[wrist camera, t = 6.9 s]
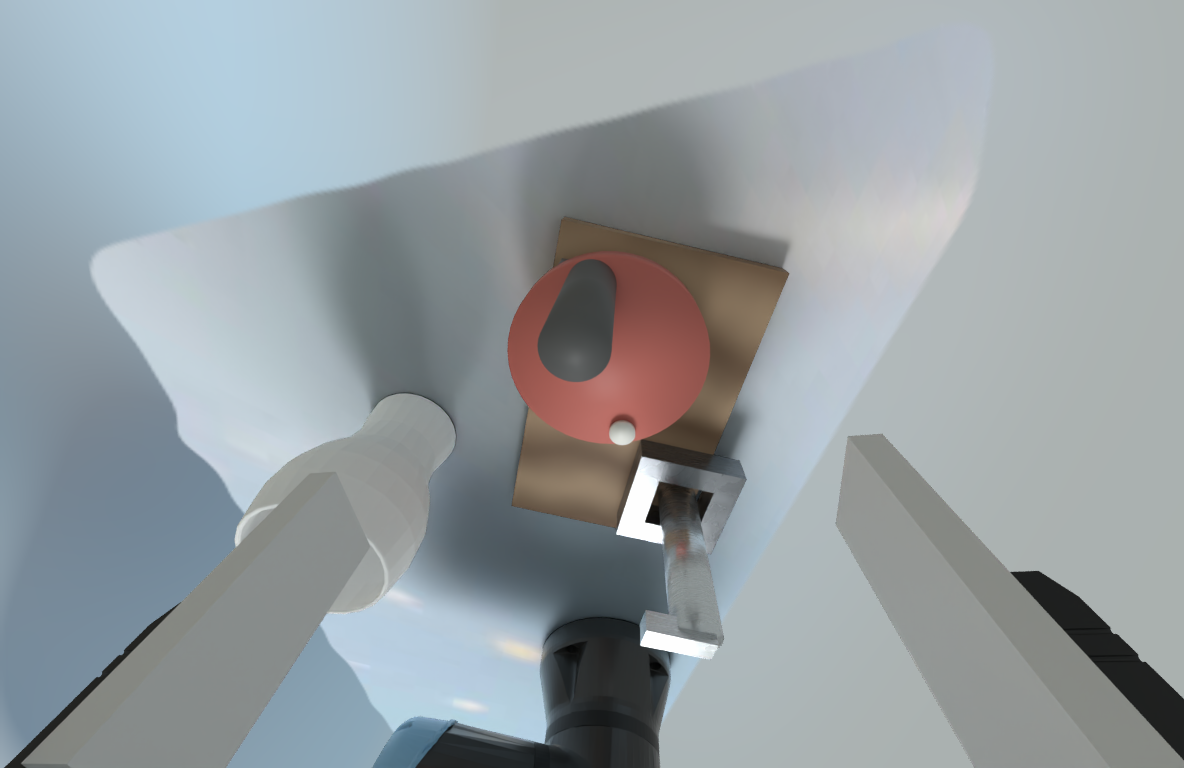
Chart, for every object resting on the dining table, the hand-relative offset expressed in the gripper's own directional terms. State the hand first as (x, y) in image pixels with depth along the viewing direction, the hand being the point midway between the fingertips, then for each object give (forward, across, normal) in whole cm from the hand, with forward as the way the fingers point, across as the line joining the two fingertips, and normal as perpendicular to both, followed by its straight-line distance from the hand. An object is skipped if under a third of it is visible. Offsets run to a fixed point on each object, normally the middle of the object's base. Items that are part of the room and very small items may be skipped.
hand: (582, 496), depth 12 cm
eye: (+23, +4, -19) cm, 30 cm away
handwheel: (+20, 0, -4) cm, 20 cm away
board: (+24, 0, -10) cm, 27 cm away
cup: (+25, -19, -12) cm, 34 cm away
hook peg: (+23, +4, -19) cm, 30 cm away
